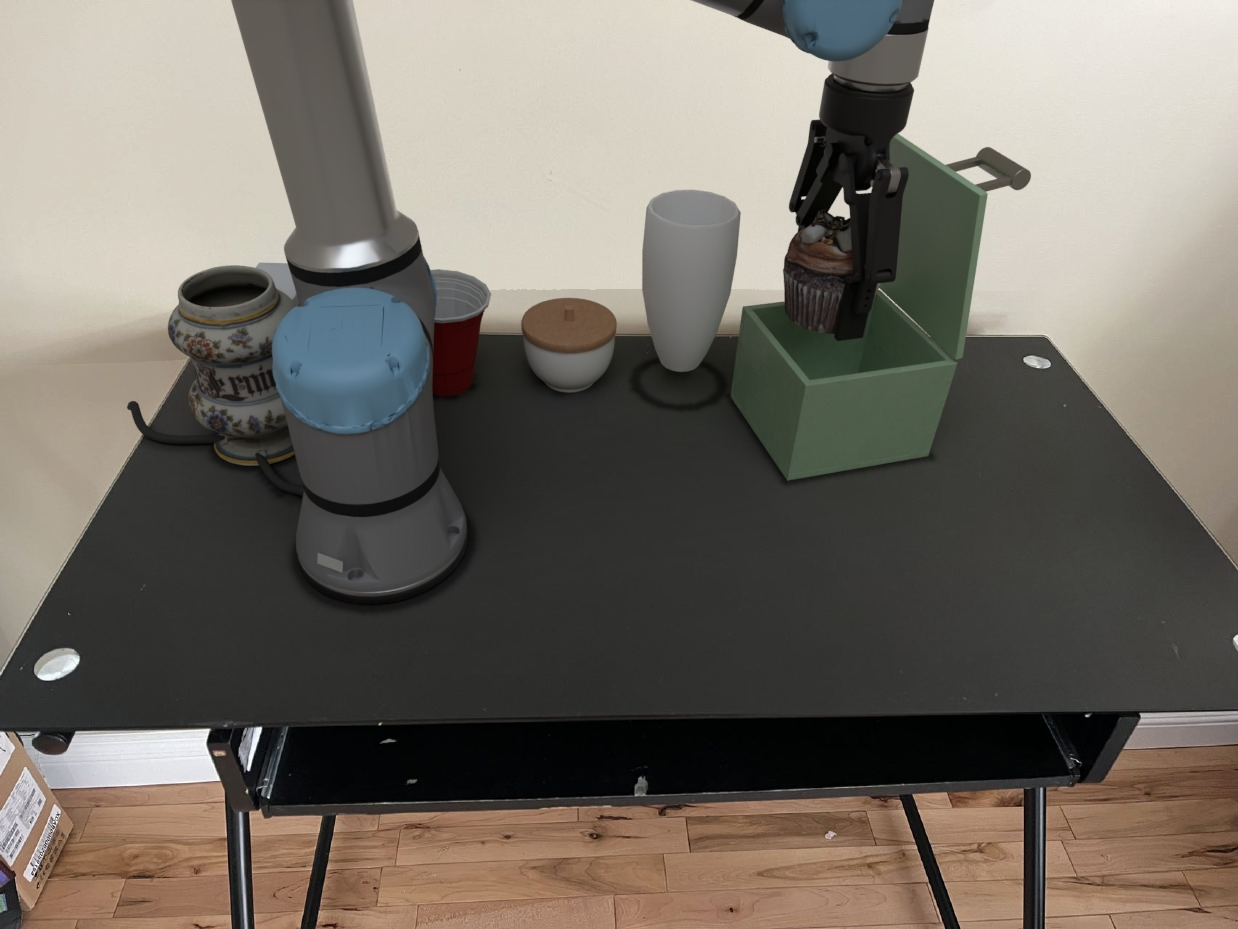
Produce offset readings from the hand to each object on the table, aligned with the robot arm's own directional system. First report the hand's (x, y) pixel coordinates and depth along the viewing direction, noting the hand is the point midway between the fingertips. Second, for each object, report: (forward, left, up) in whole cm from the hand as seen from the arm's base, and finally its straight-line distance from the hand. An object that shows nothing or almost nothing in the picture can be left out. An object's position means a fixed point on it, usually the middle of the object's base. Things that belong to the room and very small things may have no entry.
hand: (824, 311), depth 91 cm
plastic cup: (-30, -27, -15) cm, 43 cm away
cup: (-15, -5, -15) cm, 22 cm away
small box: (-40, -41, -15) cm, 59 cm away
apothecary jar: (-32, -48, -15) cm, 60 cm away
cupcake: (0, 0, 0) cm, 0 cm away
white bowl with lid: (-23, -15, -15) cm, 31 cm away
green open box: (+1, +3, -15) cm, 15 cm away
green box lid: (+3, +9, +6) cm, 11 cm away
